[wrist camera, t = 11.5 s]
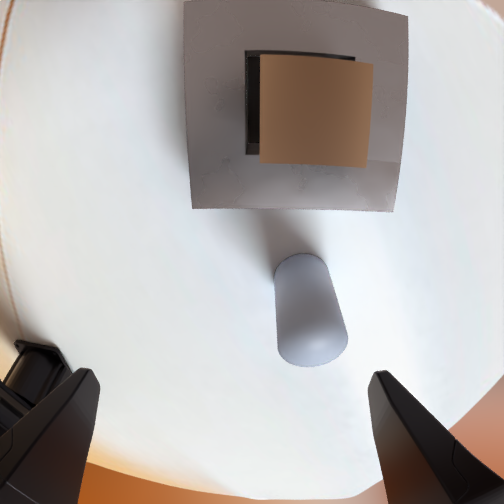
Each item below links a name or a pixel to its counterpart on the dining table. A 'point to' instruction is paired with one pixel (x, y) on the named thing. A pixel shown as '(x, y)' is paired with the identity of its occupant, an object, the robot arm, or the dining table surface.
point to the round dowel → (307, 312)
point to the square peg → (314, 110)
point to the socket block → (236, 102)
